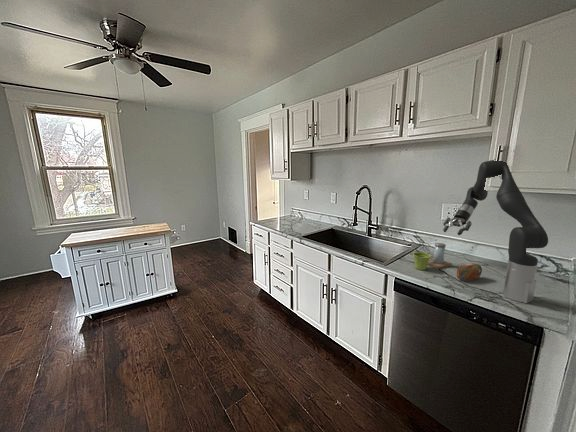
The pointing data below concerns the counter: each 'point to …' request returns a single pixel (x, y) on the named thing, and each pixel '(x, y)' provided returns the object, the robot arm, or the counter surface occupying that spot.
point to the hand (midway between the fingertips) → (451, 232)
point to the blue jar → (439, 253)
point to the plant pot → (421, 260)
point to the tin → (469, 272)
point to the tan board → (439, 266)
